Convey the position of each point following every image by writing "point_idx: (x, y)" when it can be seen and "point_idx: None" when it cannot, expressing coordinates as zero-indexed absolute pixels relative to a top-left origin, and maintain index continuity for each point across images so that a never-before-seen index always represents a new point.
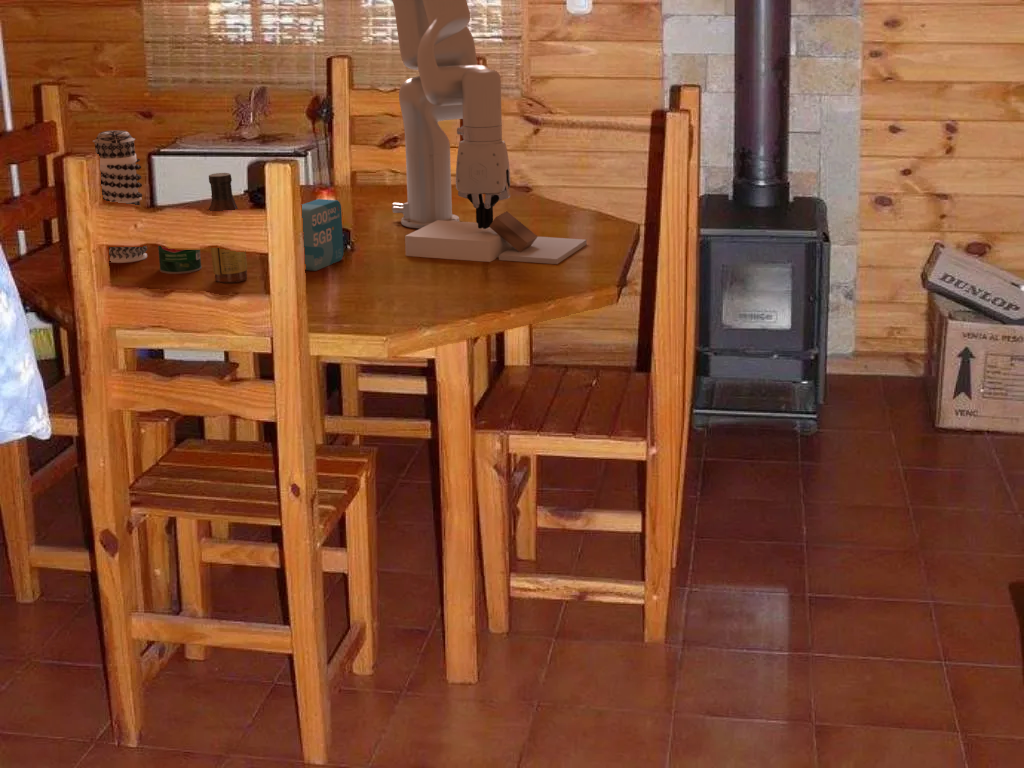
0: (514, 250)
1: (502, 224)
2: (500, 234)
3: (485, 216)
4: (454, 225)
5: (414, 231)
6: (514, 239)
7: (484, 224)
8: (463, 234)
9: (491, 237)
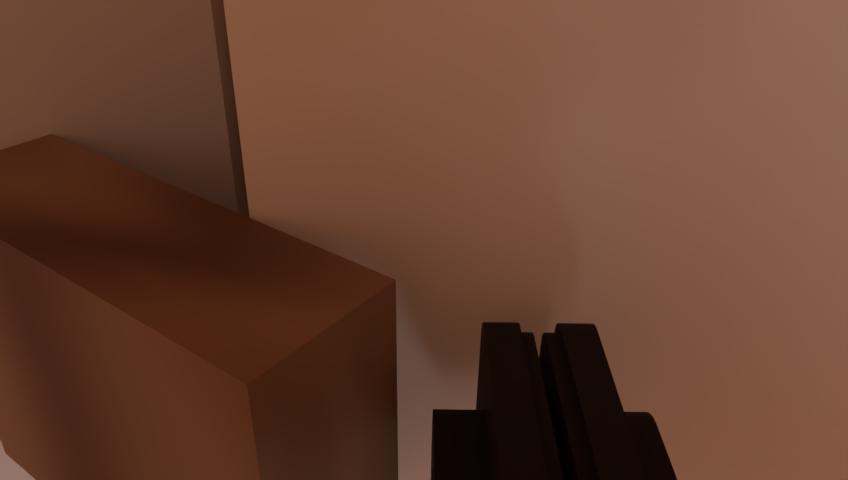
0: None
1: (161, 307)
2: (233, 222)
3: (496, 451)
4: None
5: None
6: (56, 197)
7: (501, 354)
8: (763, 175)
9: (313, 101)
